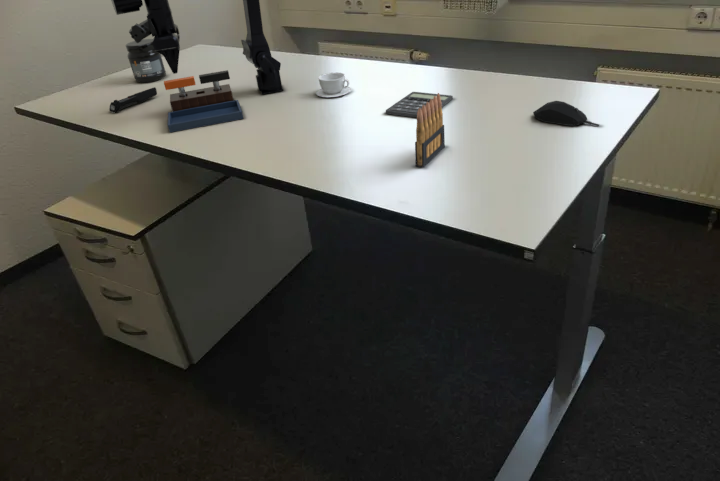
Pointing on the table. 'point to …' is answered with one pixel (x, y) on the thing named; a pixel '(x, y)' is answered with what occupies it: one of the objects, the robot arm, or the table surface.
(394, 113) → the calculator
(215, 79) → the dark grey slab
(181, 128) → the tray
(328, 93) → the teacup
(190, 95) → the rack
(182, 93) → the t handle
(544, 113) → the gaming mouse
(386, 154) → the table surface
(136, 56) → the supplement container
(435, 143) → the ammunition clip
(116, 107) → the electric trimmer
